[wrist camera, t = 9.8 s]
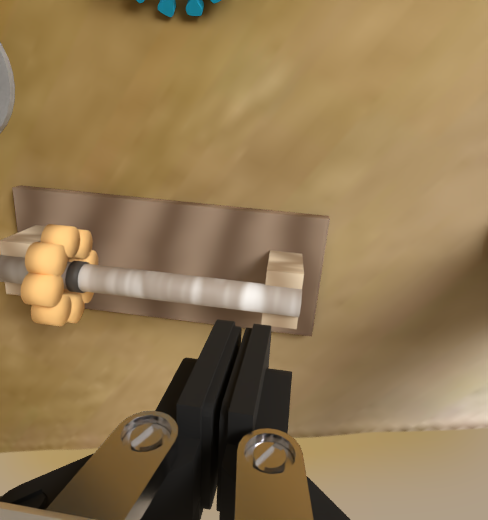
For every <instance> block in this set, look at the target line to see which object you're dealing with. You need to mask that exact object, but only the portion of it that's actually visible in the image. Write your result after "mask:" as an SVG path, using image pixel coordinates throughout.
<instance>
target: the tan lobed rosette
mask: <svg viewBox="0 0 488 520" xmlns="http://www.w3.org/2000/svg"><path fill="white" fill-rule="evenodd" d="M92 245H93V240H92V235H91V233H90V231H88V230H80V229H77V228H76V227H73V226H64V225H54V224H49V225H47V226H46V227H45V228H44V229H43V232H42V234H41V242H34V243H32V244H31V245H30V246H29V247H28V249H27V252H26V255H25V267H26V269H27V271H28V272H29V273H28V274H27V275H26V276H25V278H24V279H23V282H22V285H21V298H22V300H23V302H24V303H26V304H30V305H32V306H31V317H32V320H33V321H34V322H35V323H39V324H47V325H55V326H63V325H64V324H65V323H66V322H69V323H77V322H78V321H79V320H80V319H81V317H82V315H83V312H84V306H85V303H89V302H90V301H91V299H92V297H93V295H94V293H93V292H85V293H78V292H70V291H69V290H67V289H64V282H63V279H62V277H61V275H62V274H63V273H64V271H65V269H66V267H67V262H73V261H84V262H89V263H90V264H94V265H98V255H97V253H96V251H94V250H92Z"/></svg>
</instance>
